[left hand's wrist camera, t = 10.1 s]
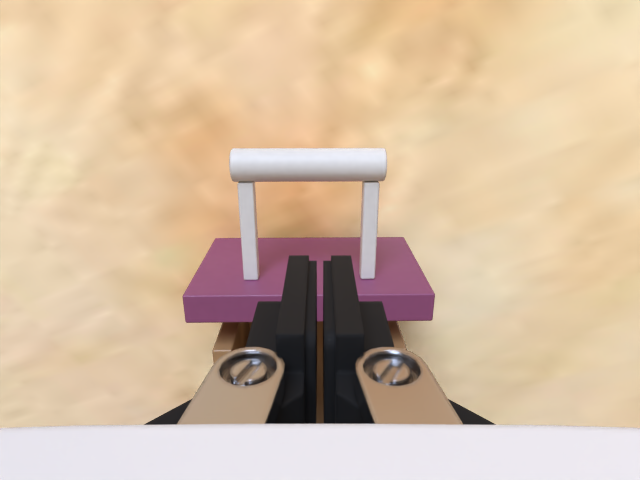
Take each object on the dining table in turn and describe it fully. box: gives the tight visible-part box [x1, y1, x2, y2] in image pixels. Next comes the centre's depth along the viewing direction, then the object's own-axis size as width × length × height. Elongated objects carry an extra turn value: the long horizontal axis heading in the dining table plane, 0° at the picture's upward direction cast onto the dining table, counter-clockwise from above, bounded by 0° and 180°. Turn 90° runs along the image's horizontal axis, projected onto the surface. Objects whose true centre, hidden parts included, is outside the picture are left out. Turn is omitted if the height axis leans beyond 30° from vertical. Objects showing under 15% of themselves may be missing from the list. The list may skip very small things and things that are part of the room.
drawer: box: [183, 148, 435, 424], centre depth 22 cm, size 19×10×6 cm, turn 0°
